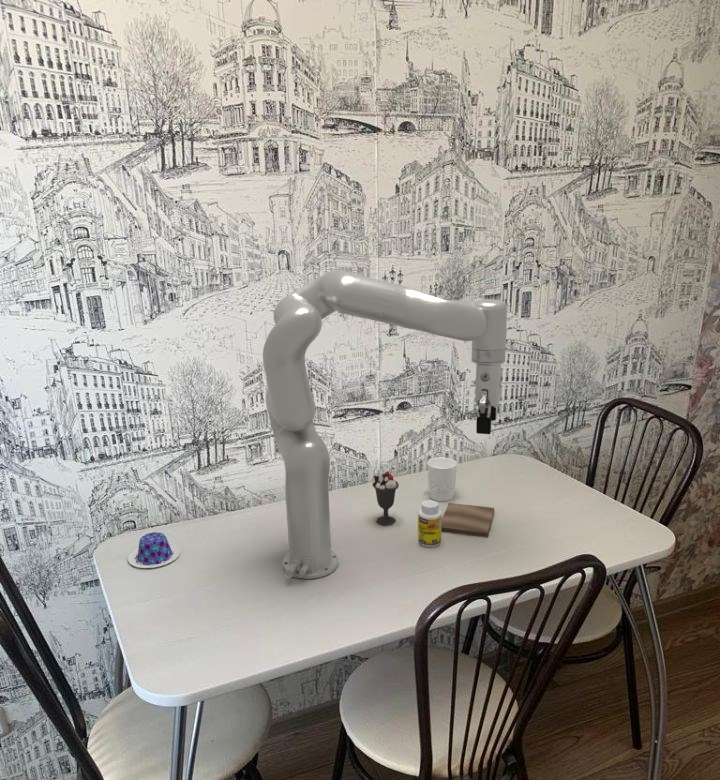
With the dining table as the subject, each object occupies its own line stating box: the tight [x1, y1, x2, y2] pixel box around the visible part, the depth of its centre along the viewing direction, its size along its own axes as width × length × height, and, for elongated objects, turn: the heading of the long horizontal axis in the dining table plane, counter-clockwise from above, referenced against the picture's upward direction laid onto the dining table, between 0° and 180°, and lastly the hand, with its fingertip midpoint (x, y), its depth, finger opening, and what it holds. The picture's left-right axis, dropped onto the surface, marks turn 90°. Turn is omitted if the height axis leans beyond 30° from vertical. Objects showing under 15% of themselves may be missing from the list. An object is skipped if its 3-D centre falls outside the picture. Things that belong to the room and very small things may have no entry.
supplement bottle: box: [417, 499, 443, 548], centre depth 162 cm, size 6×6×10 cm
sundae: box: [372, 466, 399, 526], centre depth 173 cm, size 7×7×15 cm
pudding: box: [127, 531, 182, 569], centre depth 160 cm, size 12×12×5 cm
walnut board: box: [441, 502, 495, 538], centre depth 173 cm, size 14×12×1 cm
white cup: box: [427, 456, 458, 502], centre depth 187 cm, size 8×8×10 cm
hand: (486, 426), depth 159 cm, fingers open, 9 cm apart
